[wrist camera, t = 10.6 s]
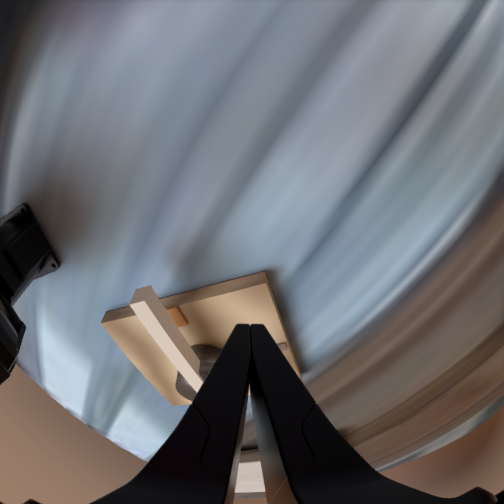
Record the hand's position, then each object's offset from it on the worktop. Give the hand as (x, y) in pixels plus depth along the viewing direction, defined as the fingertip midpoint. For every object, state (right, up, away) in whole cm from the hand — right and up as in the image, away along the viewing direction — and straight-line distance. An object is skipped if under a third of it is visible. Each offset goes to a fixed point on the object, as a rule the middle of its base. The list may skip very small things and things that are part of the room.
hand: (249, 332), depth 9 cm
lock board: (-4, -7, +18) cm, 19 cm away
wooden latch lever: (-5, -4, +14) cm, 16 cm away
